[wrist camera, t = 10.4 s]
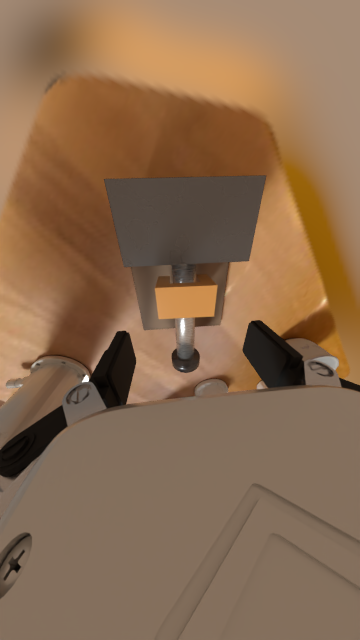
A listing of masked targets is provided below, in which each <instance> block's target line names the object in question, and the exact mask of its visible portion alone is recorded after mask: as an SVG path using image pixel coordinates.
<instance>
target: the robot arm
mask: <svg viewBox="0 0 360 640" xmlns="http://www.w3.org/2000/svg"><path fill="white" fill-rule="evenodd" d="M243 353H244V354H245V356H246V357H247V359H248V360H249V362H250V363H251V365H252V366H253V367H254V369H255V370H256V372H257V373H258V375H259V376H260V378H261V379H262V380H263V382H264V383H265V385H266V386H267V388H265V389H256V390H246V391H237V392H228V393H218V394H209V395H200V396H192V397H183V398H174V399H166V400H157V401H149V402H142V403H134V404H127V405H126V402H127V398H128V394H129V390H130V386H131V381H132V377H133V373H134V369H135V365H136V357H135V353H134V350H133V346H132V342H131V338H130V335H129V333H127V332H126V331H118V332H117V333H116V335H115V337H114V339H113V340H112V342H111V344H110V346H109V348H108V350H106V351H105V352H104V354H103V355H102V357H101V359H100V361H99V363H98V365H97V366H96V368H95V370H94V372H93V374H92V375H91V376H90V373H89V371H88V370H87V368H86V367H85V366H83V365H82V364H81V363H79V362H77V361H75V360H73V359H70V358H67V357H63V356H45V357H42V358H40V359H38V360H37V361H36V362H34V363H33V364H32V366H31V369H30V372H31V374H30V375H29V376H27V377H24V378H23V379H21V378H19V379H10V380H9V381H7V383H6V387H7V388H18V387H20V388H19V389H18V390H17V391H16V392H15V393H14V394H13V395H12V396H11V397H10V398H9V399H8V400H7V401H6V402H5V403H4V404H3V406H1V407H0V640H360V385H357V384H354V383H352V382H349V381H346V380H344V379H341V378H339V377H338V374H337V372H336V371H335V370H334V369H333V368H332V367H330V366H329V365H327V364H325V363H323V362H320V361H317V360H311V359H309V360H306V361H305V362H304V361H303V360H302V359H303V357H304V356H302V355H301V354H300V353H299V352H298V351H296V350H295V349H294V348H293V347H292V346H290V345H289V344H288V343H287V342H286V341H284V340H283V339H282V338H281V337H280V336H278V335H277V334H276V333H275V332H274V331H272V330H271V329H270V328H269V327H268V326H267V325H265V324H264V323H263V322H262V321H260V320H256V321H251V323H249V325H248V329H247V334H246V338H245V342H244V346H243Z"/></svg>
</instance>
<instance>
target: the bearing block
mask: <svg viewBox="0 0 360 640" xmlns="http://www.w3.org/2000/svg"><path fill="white" fill-rule="evenodd" d="M265 179H266V176H221V177H176V178H131V179H104V181H105V186H106V190H107V195H108V199H109V203H110V208H111V212H112V216H113V221H114V225H115V230H116V234H117V238H118V243H119V247H120V252H121V256H122V260H123V265H124V267H136V266H157V265H178V264H199V263H220V262H241V261H249V258H250V253H251V248H252V243H253V238H254V233H255V228H256V223H257V218H258V214H259V209H260V204H261V199H262V194H263V189H264V184H265Z"/></svg>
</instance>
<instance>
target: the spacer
mask: <svg viewBox="0 0 360 640" xmlns="http://www.w3.org/2000/svg"><path fill="white" fill-rule="evenodd" d="M217 286H218V285H217V284H216V283H215V282H214V281H213V280H212V279H211V278H210V277H209V276H208V275H207V274H199V275H196V282H194V283H170V276H158V279H157V283H156V286H155V294H156V302H157V310H158V318H159V319H174V318H193V317H212V316H214V312H215V303H216V295H217Z"/></svg>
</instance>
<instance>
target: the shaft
mask: <svg viewBox="0 0 360 640" xmlns="http://www.w3.org/2000/svg"><path fill="white" fill-rule="evenodd" d="M172 279H173V283H194V282H196V264H178V265H172ZM175 328H176V344H177V349H175V350H174V351H173V353H172V364H173V367H174V368H175V369H176V370H178V371H180V372H184V373H188V372H192V371H194V370H196V369H197V367H198V366H199V359H200V355H199V352H198V351H197V350H196V349H195V348H194V334H195V317H193V318H175Z"/></svg>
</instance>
